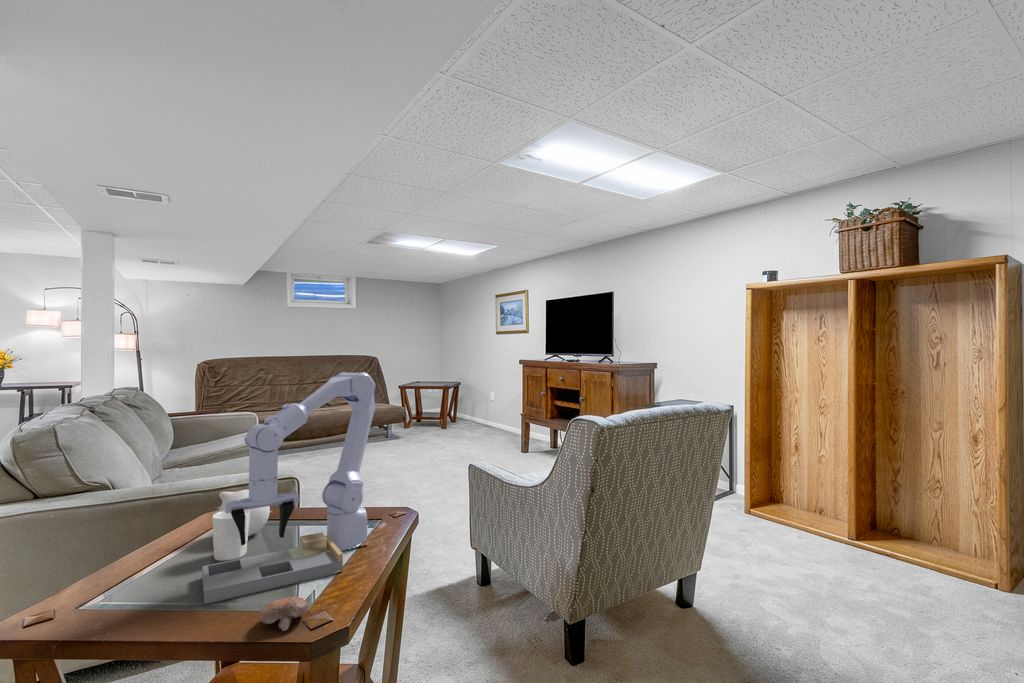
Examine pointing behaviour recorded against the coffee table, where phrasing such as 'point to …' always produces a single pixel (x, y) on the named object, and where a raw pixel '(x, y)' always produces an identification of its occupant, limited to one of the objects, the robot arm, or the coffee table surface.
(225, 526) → the white cup
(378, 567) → the coffee table surface
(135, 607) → the coffee table surface
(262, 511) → the cat head
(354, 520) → the robot arm
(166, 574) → the coffee table surface
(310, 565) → the board
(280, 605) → the mushroom
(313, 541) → the maple block
